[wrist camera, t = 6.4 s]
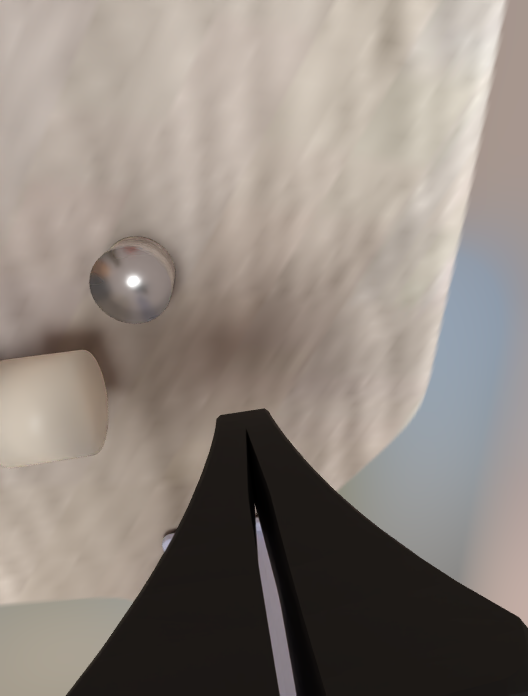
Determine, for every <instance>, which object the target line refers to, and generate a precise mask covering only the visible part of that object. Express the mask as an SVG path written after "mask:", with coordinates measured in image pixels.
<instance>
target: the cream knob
mask: <svg viewBox="0 0 528 696" xmlns="http://www.w3.org/2000/svg"><path fill="white" fill-rule="evenodd" d="M107 428H108V399H107V392H106V386H105V382H104V378H103V375H102V372H101V369H100V367H99V365H98V363H97V361H96V359H95V357H94V356H93V355H92V354H91V353H90V352H89V351H87V350H76V351H68V352H60V353H53V354H45V355H37V356H29V357H22V358H14V359H6V360H1V361H0V465H1V466H3V467H6V468H17V467H23V466H29V465H35V464H42V463H48V462H54V461H60V460H67V459H73V458H79V457H85V456H91V455H95V454H97V453H98V452H99V451H100V450H101V449H102V447H103V444H104V442H105V439H106V434H107Z"/></svg>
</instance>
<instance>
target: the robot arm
mask: <svg viewBox="0 0 528 696" xmlns="http://www.w3.org/2000/svg"><path fill="white" fill-rule="evenodd" d="M255 507H256V510H257V514H258V517H257V518H255ZM162 547H163V550H164V554H163V555H162V557H161V559H160V560H159V562H158V564H157V566H156V567H155V569H154V571H153V572H152V574H151V576H150V577H149V579H148V581H147V582H146V584H145V585H144V587H143V589H142V590H141V592H140V593H139V595H138V596H137V598H136V599H135V601H134V602H133V604H132V605H131V607H130V608H129V610H128V611H127V613H126V614H125V615H124V617H123V618H122V620H121V621H120V623H119V624H118V626H117V627H116V629H115V630H114V632H113V633H112V634H111V636H110V637H109V639H108V640H107V642H106V643H105V645H104V646H103V647H102V649H101V650H100V652H99V653H98V654H97V656H96V657H95V658H94V660H93V661H92V662H91V664H90V665H89V666H88V667H87V669H86V670H85V671H84V673H83V674H82V675H81V677H80V678H79V679H78V680H77V682H76V683H75V685H74V686H73V687H72V688H71V690H70V691H69V692H68V693H67V695H66V696H528V628H527V626H526V625H525V624H524V623H523V622H522V621H521V619H520V618H519V617H517V616H516V615H514V614H512V613H510V612H509V611H507V610H505V609H504V608H502V607H500V606H498V605H497V604H495V603H493V602H491V601H490V600H488V599H486V598H485V597H483V596H481V595H479V594H478V593H476V592H474V591H472V590H471V589H469V588H467V587H465V586H464V585H462V584H460V583H459V582H457V581H455V580H454V579H452V578H451V577H449V576H448V575H446V574H445V573H443V572H441V571H440V570H438V569H437V568H435V567H434V566H432V565H431V564H429V563H428V562H426V561H425V560H423V559H422V558H420V557H419V556H417V555H416V554H415V553H413V552H412V551H410V550H409V549H408V548H406V547H405V546H404V545H402V544H401V543H399V542H398V541H397V540H395V539H394V538H392V537H391V536H389V535H388V534H387V533H385V532H384V531H383V530H381V529H380V528H379V527H377V526H376V525H375V524H374V523H372V522H371V521H370V520H369V519H367V518H366V517H365V516H364V515H363V514H361V513H360V512H359V511H358V510H356V509H355V508H354V507H353V506H352V505H351V504H350V503H348V502H347V501H346V500H345V499H344V498H343V497H342V496H341V495H339V494H338V493H337V492H336V491H335V490H334V489H333V488H332V487H331V486H330V485H329V484H328V483H327V482H326V481H325V480H324V479H323V478H322V477H321V476H320V475H319V474H318V473H317V472H316V471H315V470H314V469H313V468H312V467H311V466H310V465H309V464H308V462H307V461H306V460H305V459H304V458H303V457H302V456H301V454H300V453H299V452H298V451H297V450H296V449H295V447H294V446H293V445H292V444H291V443H290V441H289V440H288V439H287V438H286V436H285V435H284V434H283V432H282V431H281V430H280V428H279V427H278V425H277V424H276V423H275V421H274V420H273V418H272V416H271V415H270V413H269V411H267V410H266V409H265V408H264V409H258V410H251V411H245V412H238V413H232V414H225V415H220V416H219V417H218V418H217V419H216V428H215V433H214V437H213V441H212V445H211V448H210V452H209V455H208V458H207V460H206V463H205V466H204V469H203V472H202V475H201V477H200V480H199V482H198V484H197V487H196V489H195V492H194V494H193V496H192V499H191V501H190V503H189V506H188V508H187V510H186V512H185V514H184V516H183V518H182V520H181V522H180V524H179V526H178V528H177V530H176V532H175V533H172V534H168V535H166V536H165V537H164V538H163V543H162Z"/></svg>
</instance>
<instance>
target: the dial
mask: <svg viewBox="0 0 528 696" xmlns="http://www.w3.org/2000/svg"><path fill="white" fill-rule="evenodd" d="M174 280H175V267H174V263H173V260H172V258H171V256H170V255H169V253H168V252H167V251H166V250H165V248H164V247H162V246H161V245H160V244H159V243H157V242H155V241H153V240H151V239H148V238H145V237H138V236H136V237H128V238H125V239H122V240H120V241H118V242H117V243H116V244H114V245H113V246H112V247H111V248H110V249H109V250H108V251H107V252H106V253H104V254H103V255H102V256H101V257H100V258H99V259H98V260H97V261H96V263H95V264H94V266H93V268H92V270H91V274H90V282H89V283H90V290H91V293H92V296H93V298H94V300H95V302H96V303H97V305H98V306H99V307H100V308H101V309H102V310H103V311H104V312H105V313H106V314H107V315H109V316H110V317H112V318H114V319H116V320H118V321H121V322H125V323H132V324H137V323H145V322H148V321H151V320H153V319H155V318H156V317H158V316H159V315H160V314H161V313H162V312H163V311H164V310H165V309H166V307H167V306H168V304H169V301H170V298H171V294H172V289H173V285H174Z"/></svg>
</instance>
